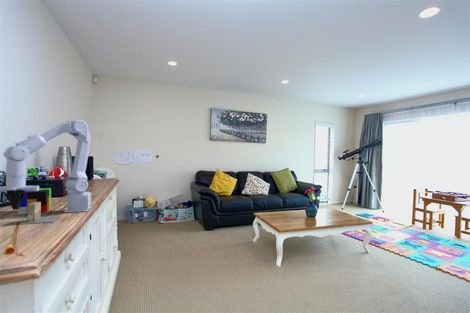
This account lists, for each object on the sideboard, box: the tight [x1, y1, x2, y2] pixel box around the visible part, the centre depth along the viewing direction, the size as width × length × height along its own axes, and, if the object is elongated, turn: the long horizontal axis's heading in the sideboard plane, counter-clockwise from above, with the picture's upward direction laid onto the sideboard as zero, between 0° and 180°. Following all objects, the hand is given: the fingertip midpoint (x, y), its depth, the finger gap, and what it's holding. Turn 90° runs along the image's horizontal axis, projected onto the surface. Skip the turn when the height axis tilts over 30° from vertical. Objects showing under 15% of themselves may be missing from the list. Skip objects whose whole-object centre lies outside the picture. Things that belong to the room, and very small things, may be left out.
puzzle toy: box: [17, 187, 52, 215], centre depth 110 cm, size 10×10×10 cm
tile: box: [26, 202, 42, 222], centre depth 95 cm, size 2×5×7 cm, turn 20°
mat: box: [19, 215, 62, 226], centre depth 95 cm, size 11×8×1 cm
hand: (16, 209), depth 93 cm, fingers closed
